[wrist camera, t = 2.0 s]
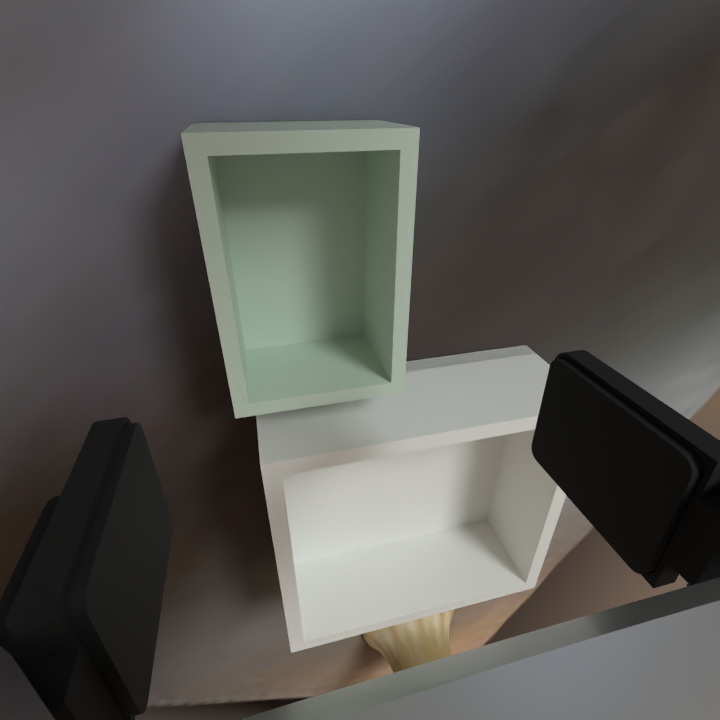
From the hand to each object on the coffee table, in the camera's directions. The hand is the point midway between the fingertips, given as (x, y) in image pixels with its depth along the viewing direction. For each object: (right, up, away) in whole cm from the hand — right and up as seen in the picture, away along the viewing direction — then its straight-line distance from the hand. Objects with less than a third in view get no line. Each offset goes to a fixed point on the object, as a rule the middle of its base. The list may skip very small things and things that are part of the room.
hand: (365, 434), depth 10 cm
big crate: (+2, -5, +18) cm, 19 cm away
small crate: (-3, +7, +10) cm, 12 cm away
